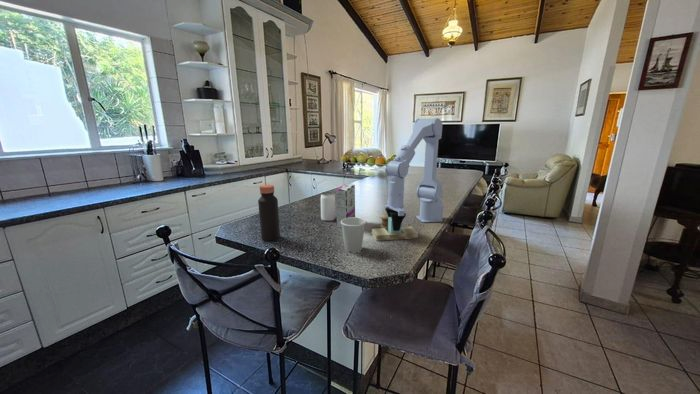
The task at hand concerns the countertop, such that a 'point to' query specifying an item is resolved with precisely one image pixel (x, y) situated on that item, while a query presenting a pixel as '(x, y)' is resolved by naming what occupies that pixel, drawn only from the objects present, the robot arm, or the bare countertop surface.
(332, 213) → the can
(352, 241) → the dixie cup
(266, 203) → the bottle
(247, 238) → the countertop surface
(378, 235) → the notch board
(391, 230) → the pale teal block
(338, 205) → the candy bar box
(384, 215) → the spool
